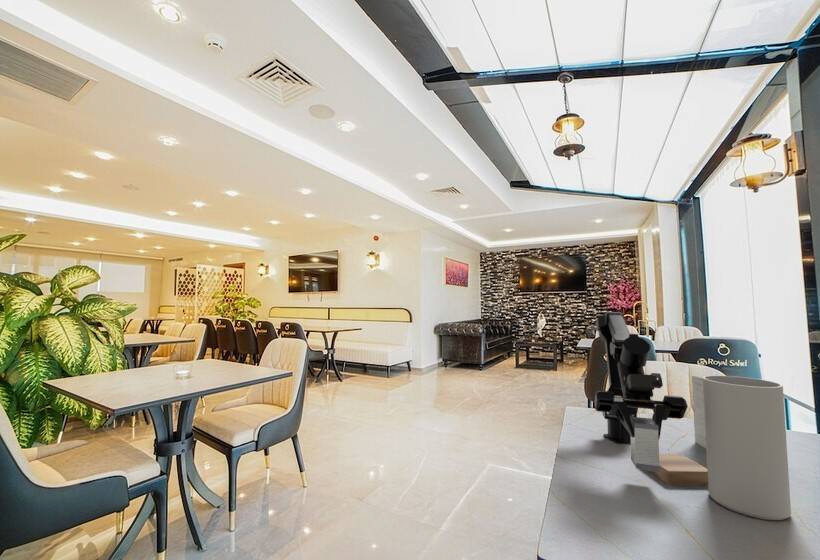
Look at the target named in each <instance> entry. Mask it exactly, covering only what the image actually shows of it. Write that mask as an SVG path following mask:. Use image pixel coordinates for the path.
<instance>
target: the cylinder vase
mask: <svg viewBox="0 0 820 560" xmlns="http://www.w3.org/2000/svg"><path fill="white" fill-rule="evenodd" d="M703 390H704V410H705V431H706V448H705V449H706V451H705V452H706V464H707V465H706V468H707V471H708V485H707V486H708V487H707V488H708V493H709V496H710V497H711V499H712V500H713V501H715V502H716V503H717V504H719V505H720V506H722V507H724V508H726V509H728V510H730V511H733V512H736V513H738V514H741V515H744V516H747V517H750V518H755V519H759V520H764V521H765V520H767V521H782V520H786V519H788V518H790V516H791V514H792V506H791V492H790V476H789V475H790V474H789V461H788V446H787V445H788V444H787V431H786V415H785V414H786V413H785V397H784V385H783V384H781V383H779V382H775V381H772V380H771V381H770V380H766V379H760V378H755V377H754V378H753V377H744V376H734V375H704V377H703Z"/></svg>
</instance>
